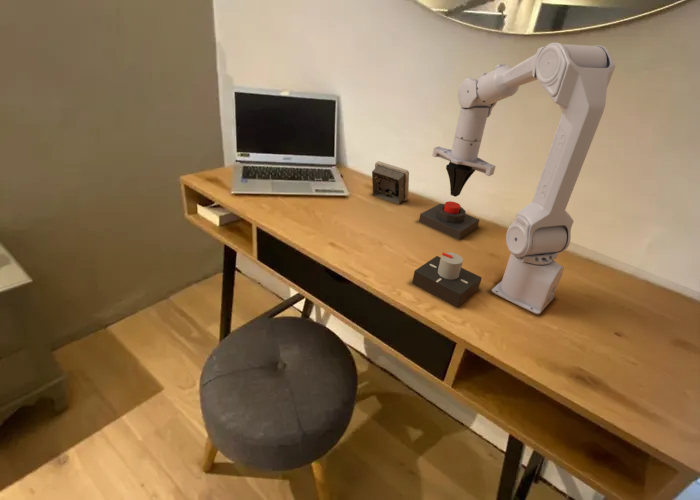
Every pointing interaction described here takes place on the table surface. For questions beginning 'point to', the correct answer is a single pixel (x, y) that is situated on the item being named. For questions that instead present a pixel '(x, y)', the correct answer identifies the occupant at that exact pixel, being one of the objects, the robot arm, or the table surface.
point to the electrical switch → (390, 182)
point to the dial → (450, 265)
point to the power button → (452, 207)
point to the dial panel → (446, 283)
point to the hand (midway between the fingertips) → (455, 194)
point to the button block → (449, 221)
